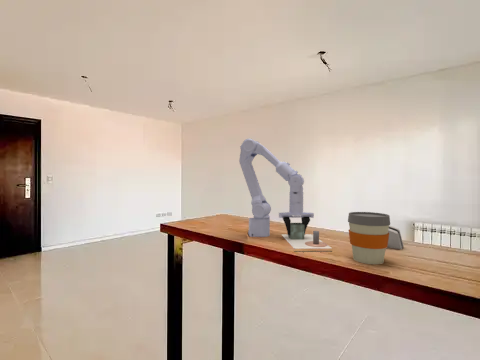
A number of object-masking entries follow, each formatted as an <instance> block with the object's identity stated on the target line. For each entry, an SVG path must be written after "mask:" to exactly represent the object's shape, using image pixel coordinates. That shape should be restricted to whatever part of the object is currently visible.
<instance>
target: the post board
mask: <svg viewBox="0 0 480 360" xmlns="http://www.w3.org/2000/svg"><path fill="white" fill-rule="evenodd" d="M280 235H281V236H282V237H283V239H285V240H286V242H287V243H289V245H290V246H291V247H292V248H293V249H294V250H293V252H294V253H306V252H307V253H313V252H316V253H317V252H318V253H319V252H320V253H323V252H325V253H327V252H330V253H332V252H333V250H321V249H332V247H331V246H330V245H329V244H328V243H326V242H324V241H322V240H321V239H320V231H319V230H313V231H312V234H311V233H310V234H309V233H305V235H304V239H290V238H289V237H288V234H287V233H285V234H280ZM297 249H298V250H297ZM299 249H301V250H299ZM303 249H305V250H303ZM307 249H309V250H307ZM310 249H315V250H310ZM316 249H318V250H316ZM319 249H320V250H319Z"/></svg>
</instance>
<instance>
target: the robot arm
mask: <svg viewBox="0 0 480 360" xmlns="http://www.w3.org/2000/svg"><path fill="white" fill-rule="evenodd" d="M239 147H240V153H239V160H238V161H239V165H240V168H241V171H242V174H243V176H244V179H245V182H246V186H247V188H248V191H249V195H250V197H251V213H252V215H253V217H249V218H248V231H247V234H248V236H249V237H252V238H254V237H255V238H257V237H258V238H268V237H270V233H271V232H270V230H271V228H270V227H271V226H270V224H271V223H270V221H271V219H270V217H271V216H270V213H271V211H272V206H271V205H270V204H269V202H268V201H267V199H266V197H265V196H264V195H263V192H262V189H261V186H260V183H259V180H258V177H257V174H256V170H255V169H254V166H253V164H252V162H253V160H254V158H255V157H256V156H257V155H258V156H259V155H260V156H263V158H265V159H266V160H267V161H268V162H269V163H270V164H272V166H274V167H275V173H277V174H278V175H279V176H280V177H281V178H282V179H283V180H285V181H286V182H287V183H288V185H289V199H288V200H289V201H288V202H289V211H287V212H285V211H284V212H278V218H279V219H282V220H283V222H284V225H285V227H286V232H287V233H286V234H288V235H290V223H292V222H291V219H292V218H297V219H298V218H300V219H301V223H302V224H304V225H305V227H304V235H305V234H306V231H307V229H308V228H307V227H308V226H309V223H310V222H311V218H312V219H314V217H315V216H314V215H315V213H314V212H305V211H304V187H303V186H304V183H305V178H304V177H303V176H302V174H298V173H299V171H298V170H295V169H294V168H293V167H292V166H291V164H290V163H289V162H288V161H287V162H286V161H281V160H279V158H278V157H276V155H275V154H273V153H272V152H271V150H269V149H268V148H267V147H266V146H264V144H262V143H260V142H259V141H257V140H255V139H252V138H250V137H249V138H246V139H244V140H243V141H242V143H241V145H240V146H239Z"/></svg>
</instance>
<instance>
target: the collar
mask: <svg viewBox="0 0 480 360" xmlns="http://www.w3.org/2000/svg"><path fill="white" fill-rule="evenodd" d="M304 227H305V225H304V224H302V222H290V235H288V237H289V238H290V239H304Z"/></svg>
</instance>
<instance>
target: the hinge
mask: <svg viewBox="0 0 480 360" xmlns="http://www.w3.org/2000/svg"><path fill="white" fill-rule="evenodd" d="M388 233H389V239H388V245H387V248H390V249H395V250H402V249H403V248H404V242H403V240H402V235H401V230H400V229H399V228H397V227H395V226H392V225H389V229H388Z"/></svg>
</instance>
